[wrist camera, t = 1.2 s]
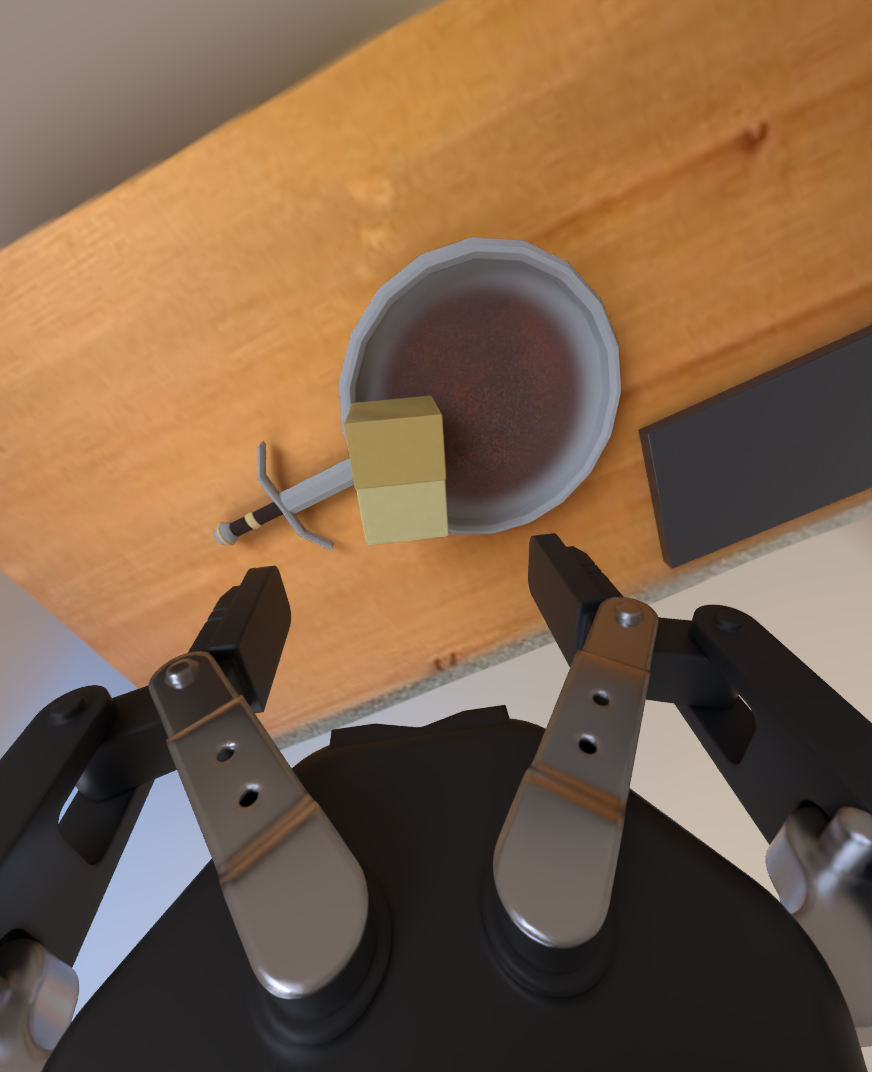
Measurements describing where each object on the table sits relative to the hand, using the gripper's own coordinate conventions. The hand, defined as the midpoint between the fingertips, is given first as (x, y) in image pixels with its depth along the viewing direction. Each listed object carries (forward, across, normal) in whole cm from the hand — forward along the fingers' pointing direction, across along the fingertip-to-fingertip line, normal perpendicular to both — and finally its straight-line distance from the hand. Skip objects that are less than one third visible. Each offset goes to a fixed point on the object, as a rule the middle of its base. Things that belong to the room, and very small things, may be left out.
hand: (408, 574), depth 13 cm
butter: (+13, 0, 0) cm, 13 cm away
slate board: (+15, -28, +3) cm, 32 cm away
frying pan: (+16, 0, 0) cm, 16 cm away
